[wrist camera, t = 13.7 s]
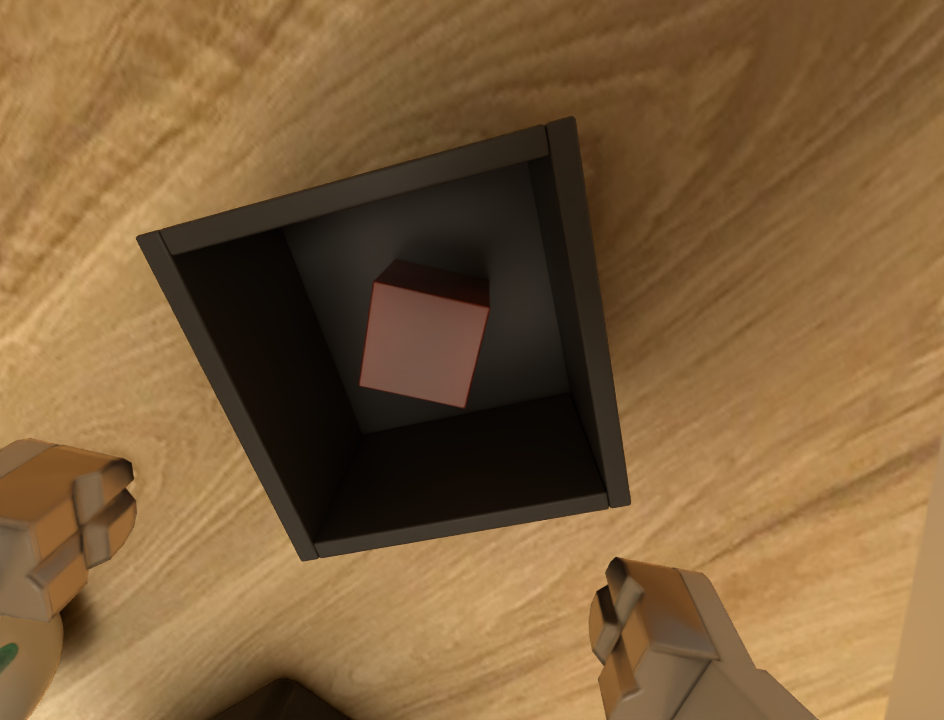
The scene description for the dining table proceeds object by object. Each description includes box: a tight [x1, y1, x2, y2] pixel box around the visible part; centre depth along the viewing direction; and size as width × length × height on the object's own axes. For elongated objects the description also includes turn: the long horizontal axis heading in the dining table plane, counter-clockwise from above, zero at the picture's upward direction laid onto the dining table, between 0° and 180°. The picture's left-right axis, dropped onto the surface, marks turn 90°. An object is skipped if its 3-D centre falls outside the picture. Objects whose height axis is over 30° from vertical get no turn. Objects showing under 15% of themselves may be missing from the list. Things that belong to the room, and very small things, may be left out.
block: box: [358, 259, 490, 408], centre depth 18 cm, size 4×4×4 cm
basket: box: [136, 116, 631, 561], centre depth 17 cm, size 11×11×8 cm
